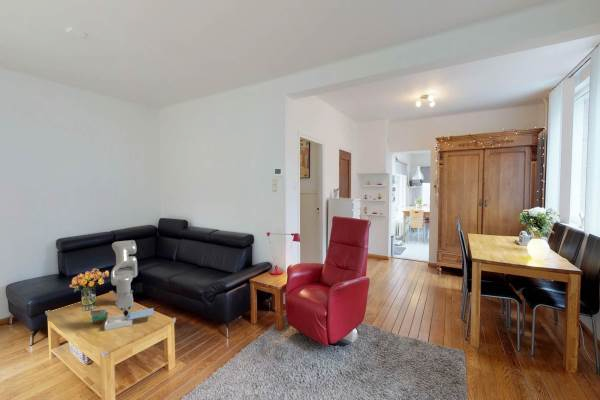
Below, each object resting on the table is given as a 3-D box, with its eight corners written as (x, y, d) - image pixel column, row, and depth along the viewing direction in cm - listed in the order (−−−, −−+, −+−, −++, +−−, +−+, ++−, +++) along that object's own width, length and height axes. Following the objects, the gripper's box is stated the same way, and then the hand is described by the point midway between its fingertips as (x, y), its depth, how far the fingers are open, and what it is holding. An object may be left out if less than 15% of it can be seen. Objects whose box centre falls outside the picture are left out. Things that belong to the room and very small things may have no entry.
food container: (87, 326, 210) (87, 313, 209) (91, 322, 216) (90, 310, 215) (106, 324, 213) (105, 311, 212) (109, 320, 219) (108, 308, 218)
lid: (129, 313, 221) (129, 310, 221) (153, 308, 229) (153, 305, 229) (127, 320, 210) (127, 317, 210) (153, 315, 218) (152, 312, 218)
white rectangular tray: (107, 323, 215) (107, 317, 215) (133, 318, 223) (133, 312, 222) (104, 330, 204) (104, 325, 204) (132, 325, 212) (131, 319, 211)
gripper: (136, 289, 220) (137, 311, 222) (114, 292, 214) (115, 315, 215) (135, 293, 214) (136, 315, 215) (112, 296, 207) (113, 319, 208)
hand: (126, 315), depth 215 cm, fingers closed
